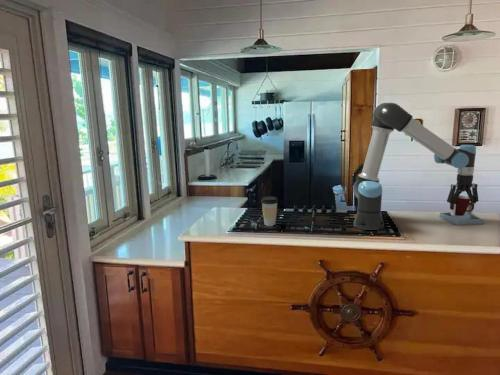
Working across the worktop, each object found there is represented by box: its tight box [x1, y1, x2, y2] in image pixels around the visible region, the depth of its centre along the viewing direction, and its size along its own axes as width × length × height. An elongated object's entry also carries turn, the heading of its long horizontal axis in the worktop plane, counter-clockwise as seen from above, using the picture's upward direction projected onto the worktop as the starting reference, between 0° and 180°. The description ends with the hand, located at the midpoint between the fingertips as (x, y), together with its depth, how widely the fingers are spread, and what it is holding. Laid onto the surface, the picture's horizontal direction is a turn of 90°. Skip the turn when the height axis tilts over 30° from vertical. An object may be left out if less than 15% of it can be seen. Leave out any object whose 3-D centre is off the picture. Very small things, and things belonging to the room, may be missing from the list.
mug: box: [455, 195, 475, 216], centre depth 203 cm, size 11×8×10 cm
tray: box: [439, 211, 485, 226], centre depth 205 cm, size 15×16×2 cm
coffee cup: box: [260, 196, 279, 227], centre depth 204 cm, size 9×9×15 cm
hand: (461, 214), depth 204 cm, fingers closed on mug, 9 cm apart
